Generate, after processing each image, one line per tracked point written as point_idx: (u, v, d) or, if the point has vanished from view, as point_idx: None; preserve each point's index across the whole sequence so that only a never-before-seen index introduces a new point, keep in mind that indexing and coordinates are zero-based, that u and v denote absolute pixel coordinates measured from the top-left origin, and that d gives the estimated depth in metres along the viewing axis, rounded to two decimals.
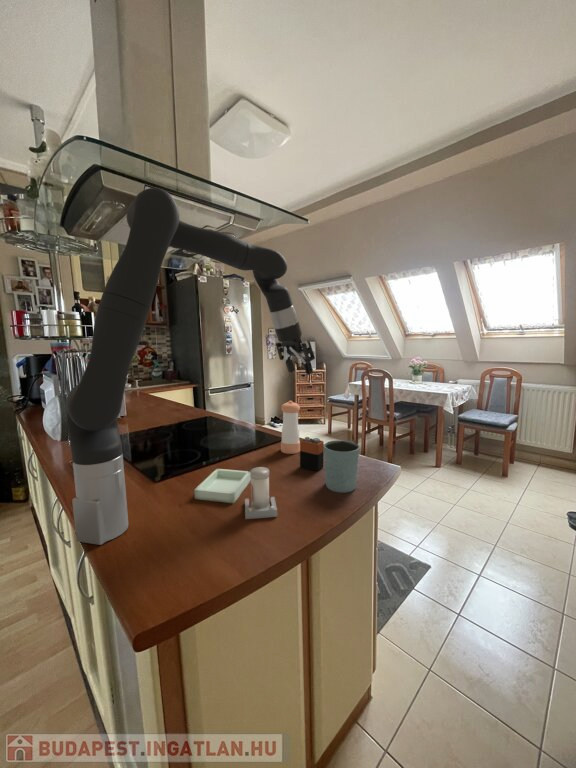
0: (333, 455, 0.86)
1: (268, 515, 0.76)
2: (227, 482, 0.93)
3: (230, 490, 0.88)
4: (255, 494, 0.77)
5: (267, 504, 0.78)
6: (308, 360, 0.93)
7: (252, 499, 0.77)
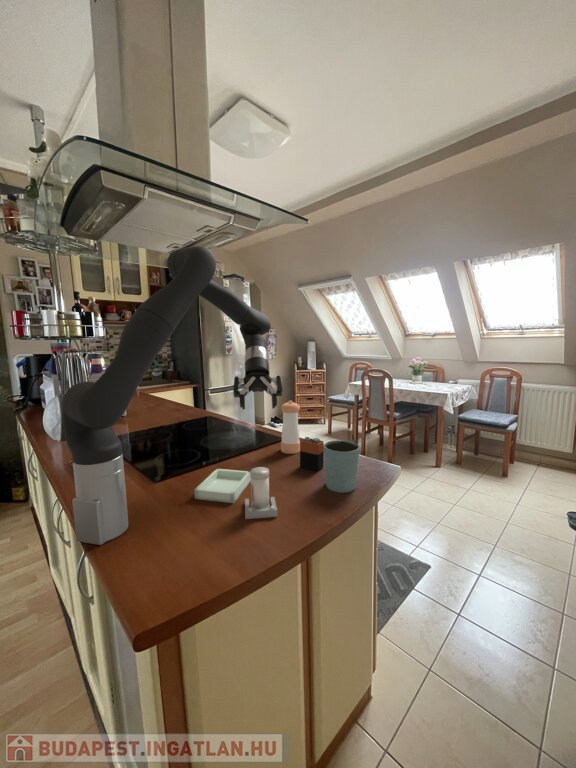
0: (333, 455, 0.86)
1: (268, 515, 0.76)
2: (227, 482, 0.93)
3: (230, 490, 0.88)
4: (255, 494, 0.77)
5: (267, 504, 0.78)
6: (281, 390, 0.93)
7: (252, 499, 0.77)
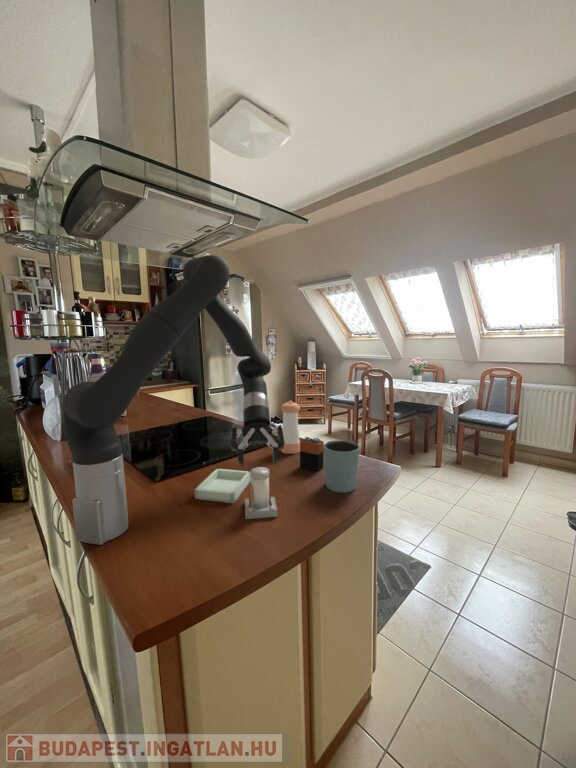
0: (333, 455, 0.86)
1: (268, 515, 0.76)
2: (227, 482, 0.93)
3: (230, 490, 0.88)
4: (255, 494, 0.77)
5: (268, 504, 0.78)
6: (283, 442, 0.86)
7: (252, 499, 0.77)
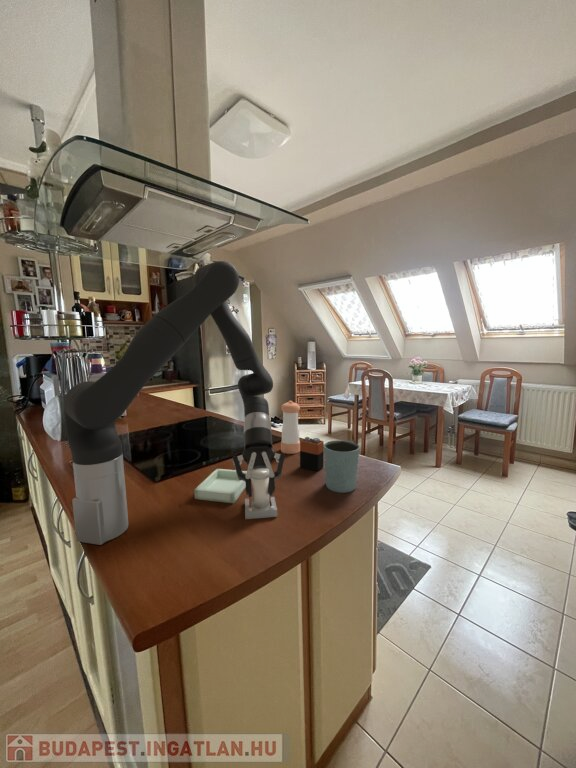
0: (333, 455, 0.86)
1: (268, 515, 0.76)
2: (227, 482, 0.93)
3: (230, 490, 0.88)
4: (255, 494, 0.77)
5: (268, 504, 0.78)
6: (279, 472, 0.80)
7: (252, 499, 0.77)
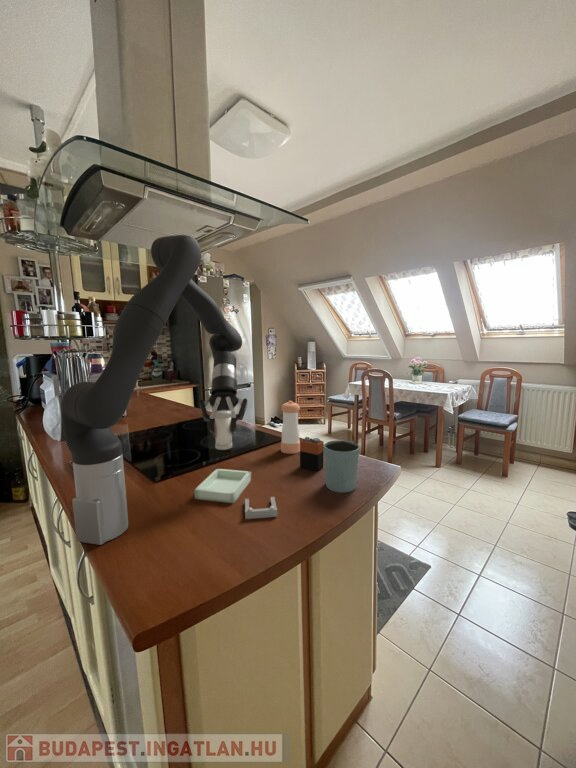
0: (333, 455, 0.86)
1: (268, 515, 0.76)
2: (227, 482, 0.93)
3: (230, 490, 0.88)
4: (217, 431, 0.85)
5: (230, 441, 0.87)
6: (241, 414, 0.88)
7: (215, 436, 0.86)
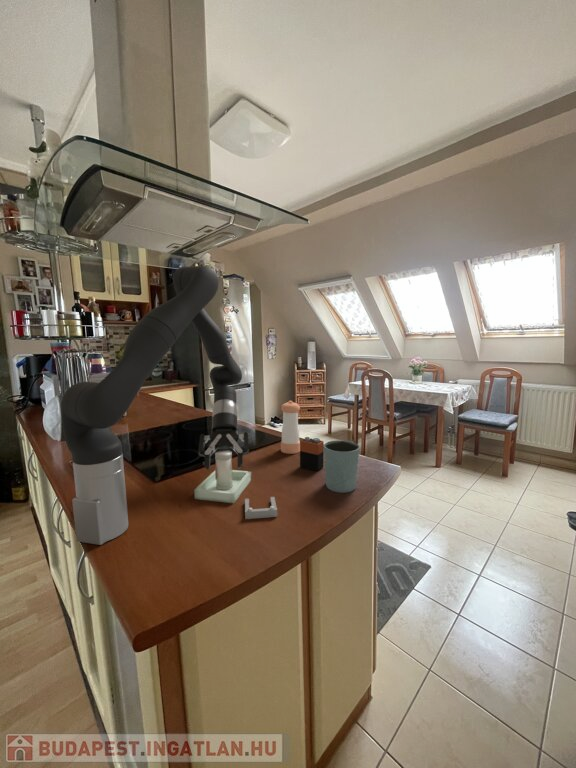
0: (333, 455, 0.86)
1: (268, 515, 0.76)
2: None
3: (230, 490, 0.88)
4: (218, 473, 0.87)
5: (230, 482, 0.89)
6: (247, 448, 0.91)
7: (216, 478, 0.88)
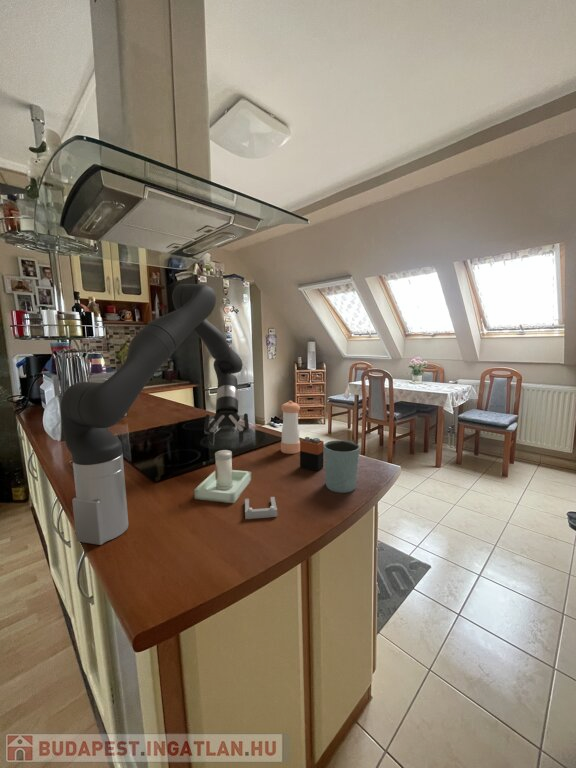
0: (333, 455, 0.86)
1: (268, 515, 0.76)
2: None
3: (230, 490, 0.88)
4: (218, 473, 0.87)
5: (230, 482, 0.89)
6: (247, 427, 1.03)
7: (216, 478, 0.88)
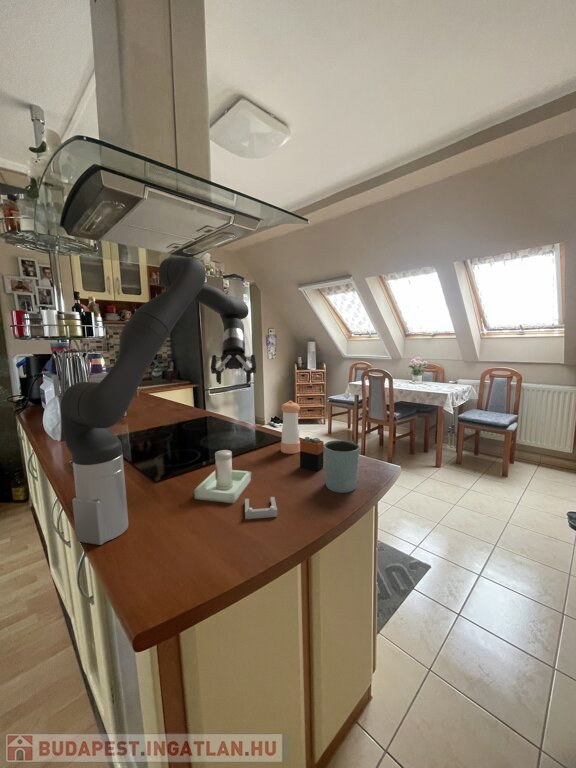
0: (333, 455, 0.86)
1: (268, 515, 0.76)
2: None
3: (230, 490, 0.88)
4: (218, 473, 0.87)
5: (230, 482, 0.89)
6: (255, 367, 1.01)
7: (216, 478, 0.88)
